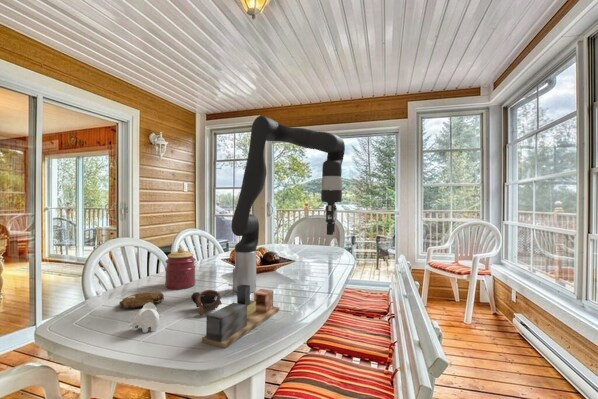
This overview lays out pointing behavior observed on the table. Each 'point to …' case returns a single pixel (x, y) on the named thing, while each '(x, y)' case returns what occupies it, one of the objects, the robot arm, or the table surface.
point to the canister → (180, 270)
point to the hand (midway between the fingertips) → (330, 233)
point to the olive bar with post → (245, 298)
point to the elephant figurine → (146, 318)
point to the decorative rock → (141, 299)
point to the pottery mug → (206, 300)
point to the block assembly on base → (238, 320)
